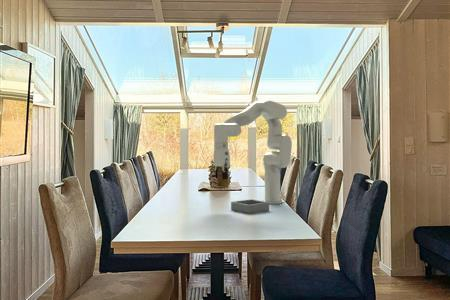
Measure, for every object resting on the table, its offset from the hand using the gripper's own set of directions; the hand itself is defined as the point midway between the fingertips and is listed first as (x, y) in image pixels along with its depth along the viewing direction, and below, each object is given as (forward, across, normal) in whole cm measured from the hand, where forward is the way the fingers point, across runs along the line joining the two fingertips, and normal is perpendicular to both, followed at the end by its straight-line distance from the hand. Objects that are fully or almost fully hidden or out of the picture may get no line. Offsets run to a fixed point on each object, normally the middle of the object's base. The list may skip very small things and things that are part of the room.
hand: (221, 178), depth 224 cm
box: (+18, -8, -14) cm, 24 cm away
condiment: (+4, 0, 0) cm, 4 cm away
